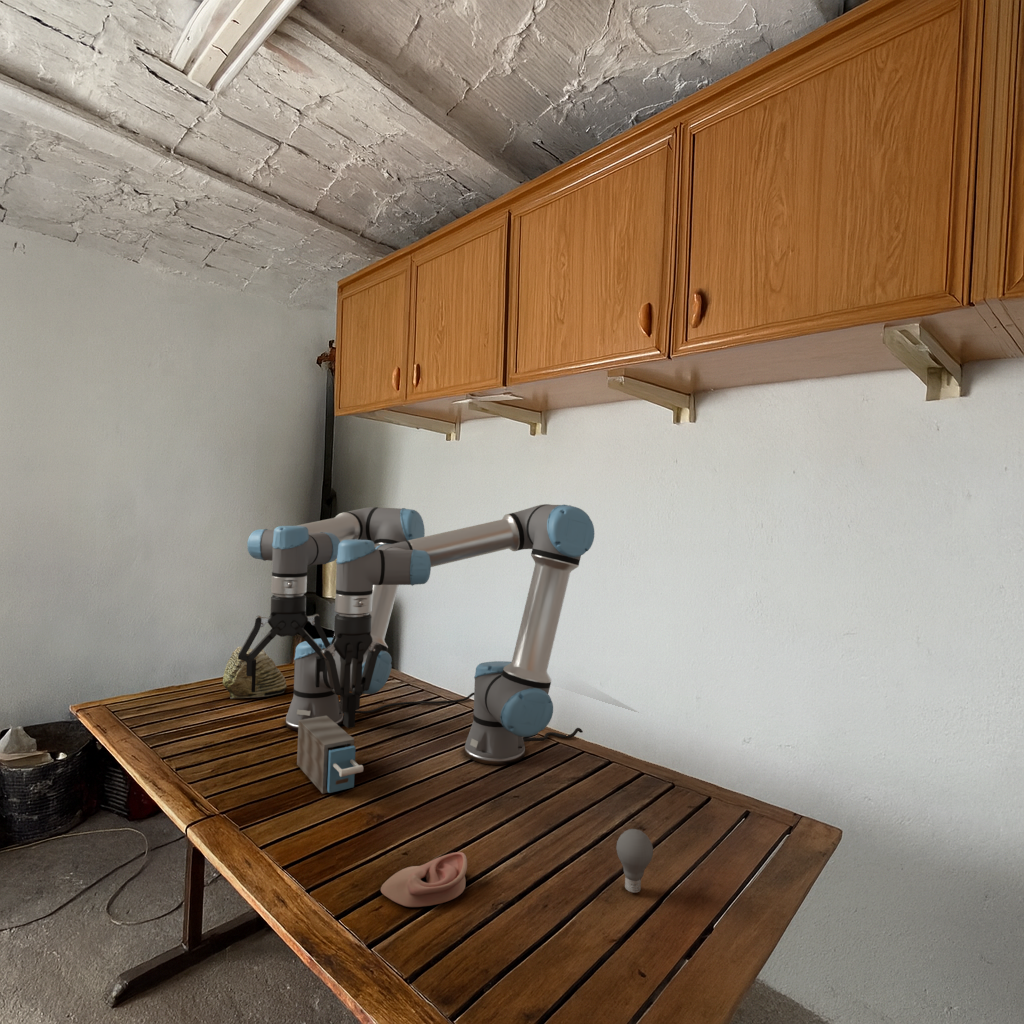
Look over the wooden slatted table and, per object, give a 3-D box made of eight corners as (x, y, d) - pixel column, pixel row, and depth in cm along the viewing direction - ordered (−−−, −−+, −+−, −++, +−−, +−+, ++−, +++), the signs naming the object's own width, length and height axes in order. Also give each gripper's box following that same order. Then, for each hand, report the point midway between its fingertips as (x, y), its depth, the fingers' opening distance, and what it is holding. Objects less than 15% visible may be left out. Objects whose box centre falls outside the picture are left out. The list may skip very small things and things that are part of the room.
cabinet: (352, 786, 139) (354, 739, 139) (322, 794, 135) (324, 745, 135) (324, 758, 153) (326, 715, 153) (296, 764, 149) (298, 720, 149)
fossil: (218, 695, 195) (220, 647, 195) (278, 685, 208) (279, 640, 207) (228, 703, 189) (230, 653, 188) (289, 692, 201) (290, 645, 201)
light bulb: (610, 879, 108) (613, 822, 108) (644, 879, 109) (647, 822, 109) (619, 902, 102) (622, 840, 102) (655, 901, 103) (658, 840, 103)
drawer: (364, 797, 133) (365, 756, 132) (338, 803, 129) (340, 761, 129) (327, 760, 150) (328, 723, 150) (304, 765, 147) (305, 728, 146)
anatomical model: (373, 876, 100) (400, 838, 111) (372, 901, 100) (399, 861, 111) (454, 890, 97) (473, 850, 108) (452, 915, 97) (472, 873, 108)
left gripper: (227, 598, 134) (224, 697, 135) (347, 596, 144) (344, 688, 144) (228, 592, 141) (226, 687, 142) (343, 590, 151) (340, 679, 151)
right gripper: (329, 619, 125) (324, 737, 126) (389, 614, 133) (385, 725, 134) (316, 612, 131) (312, 725, 132) (375, 608, 139) (370, 715, 140)
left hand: (285, 688), depth 143 cm, fingers open, 13 cm apart
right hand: (349, 725), depth 133 cm, fingers closed
